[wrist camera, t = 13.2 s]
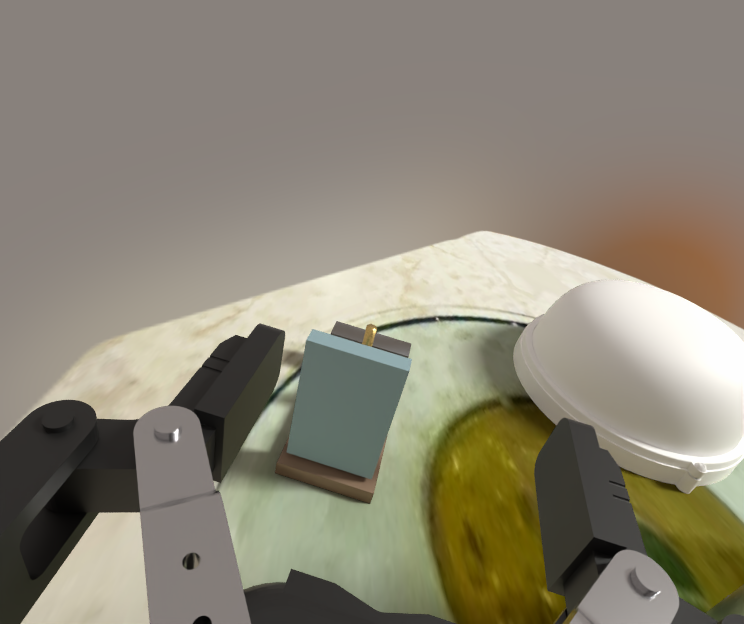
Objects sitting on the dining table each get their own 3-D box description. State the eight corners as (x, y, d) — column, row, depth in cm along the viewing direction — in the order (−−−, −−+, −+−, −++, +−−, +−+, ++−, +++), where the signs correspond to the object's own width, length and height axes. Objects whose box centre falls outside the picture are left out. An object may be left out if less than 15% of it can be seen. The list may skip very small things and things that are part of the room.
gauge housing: (370, 503, 42) (384, 464, 39) (274, 472, 43) (281, 432, 40) (399, 377, 57) (411, 342, 54) (329, 355, 58) (337, 320, 55)
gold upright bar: (366, 401, 49) (385, 337, 44) (338, 392, 49) (354, 328, 44) (370, 388, 50) (388, 326, 46) (343, 380, 50) (359, 317, 46)
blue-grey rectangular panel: (371, 479, 42) (409, 371, 35) (286, 452, 42) (306, 339, 35) (380, 442, 46) (416, 337, 38) (302, 417, 46) (323, 309, 39)
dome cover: (799, 506, 54) (900, 424, 46) (562, 481, 49) (631, 385, 42) (651, 337, 80) (700, 266, 73) (487, 310, 76) (521, 232, 68)
